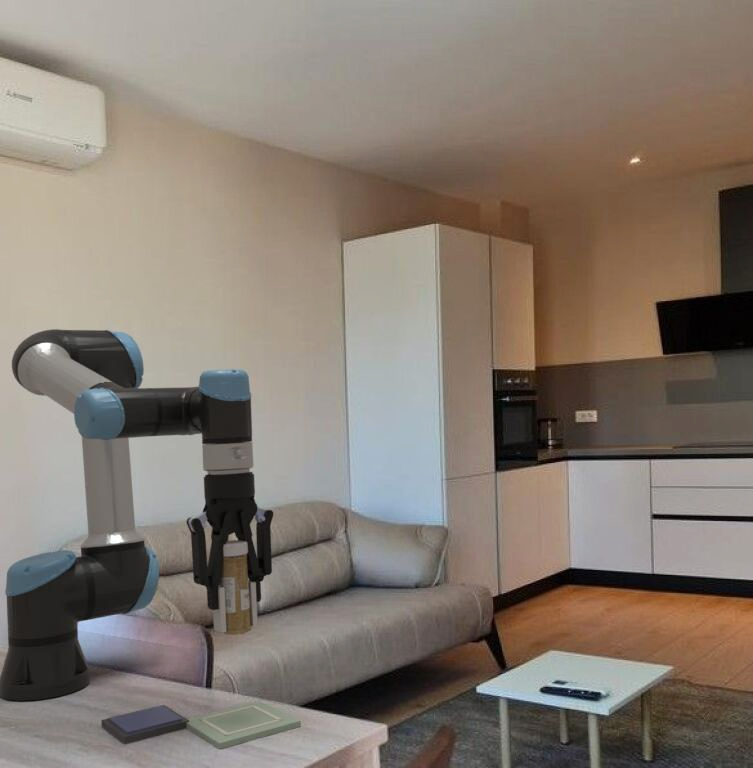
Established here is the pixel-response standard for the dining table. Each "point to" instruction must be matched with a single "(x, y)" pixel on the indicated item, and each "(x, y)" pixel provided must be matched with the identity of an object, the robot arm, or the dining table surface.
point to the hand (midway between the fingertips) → (235, 627)
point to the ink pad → (144, 724)
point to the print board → (241, 724)
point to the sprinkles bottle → (236, 587)
